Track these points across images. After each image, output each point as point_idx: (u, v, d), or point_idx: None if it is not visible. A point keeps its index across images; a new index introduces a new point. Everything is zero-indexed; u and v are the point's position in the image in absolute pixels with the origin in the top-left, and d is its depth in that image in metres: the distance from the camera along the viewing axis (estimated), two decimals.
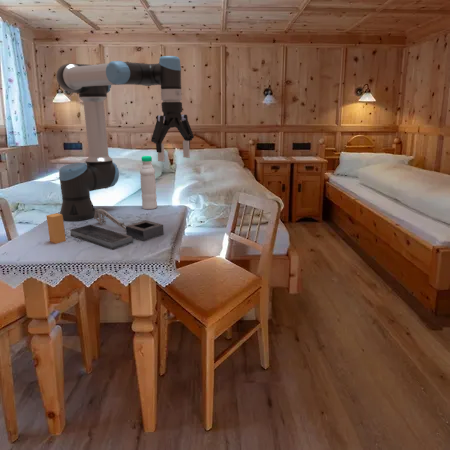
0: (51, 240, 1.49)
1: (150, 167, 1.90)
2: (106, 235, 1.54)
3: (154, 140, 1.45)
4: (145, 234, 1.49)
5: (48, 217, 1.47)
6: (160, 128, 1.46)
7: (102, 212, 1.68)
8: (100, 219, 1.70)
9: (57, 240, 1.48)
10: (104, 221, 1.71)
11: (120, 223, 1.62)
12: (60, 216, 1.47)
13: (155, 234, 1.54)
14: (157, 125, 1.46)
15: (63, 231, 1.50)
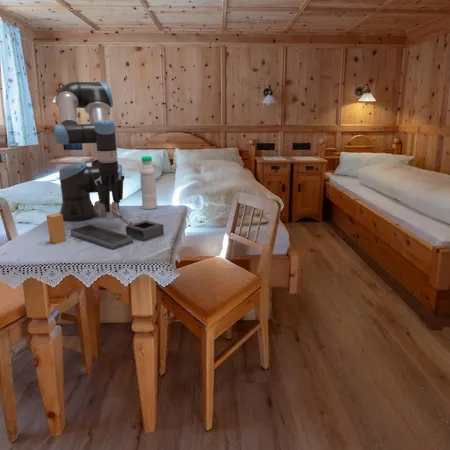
0: (51, 240, 1.49)
1: (150, 167, 1.90)
2: (106, 235, 1.54)
3: (102, 203, 1.60)
4: (145, 234, 1.49)
5: (48, 217, 1.47)
6: (102, 191, 1.58)
7: (101, 204, 1.68)
8: (99, 211, 1.69)
9: (57, 240, 1.48)
10: (104, 213, 1.70)
11: (119, 215, 1.61)
12: (60, 216, 1.47)
13: (155, 234, 1.54)
14: (98, 189, 1.58)
15: (63, 231, 1.50)
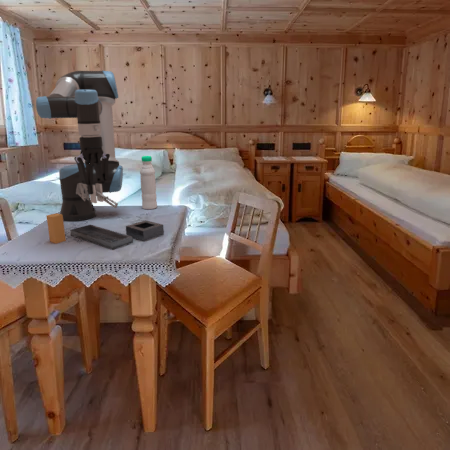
0: (51, 240, 1.49)
1: (150, 167, 1.90)
2: (106, 235, 1.54)
3: (84, 183, 1.42)
4: (145, 234, 1.49)
5: (48, 217, 1.47)
6: (84, 170, 1.40)
7: (84, 186, 1.50)
8: (83, 194, 1.52)
9: (57, 240, 1.48)
10: (87, 196, 1.53)
11: (104, 197, 1.44)
12: (60, 216, 1.47)
13: (155, 234, 1.54)
14: (80, 168, 1.40)
15: (63, 231, 1.50)
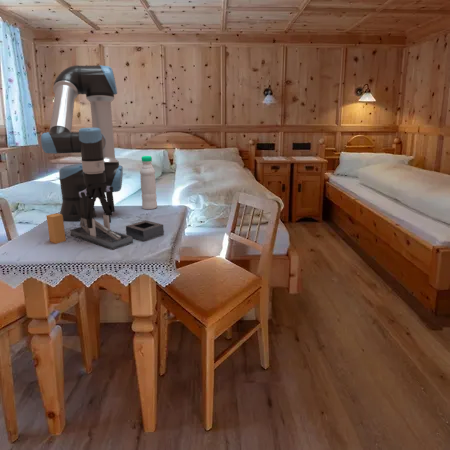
0: (51, 240, 1.49)
1: (150, 167, 1.90)
2: (106, 235, 1.54)
3: (84, 218, 1.44)
4: (145, 234, 1.49)
5: (48, 217, 1.47)
6: (85, 204, 1.43)
7: None
8: (86, 227, 1.55)
9: (57, 240, 1.48)
10: None
11: (107, 230, 1.47)
12: (60, 216, 1.47)
13: (155, 234, 1.54)
14: (82, 202, 1.43)
15: (63, 231, 1.50)
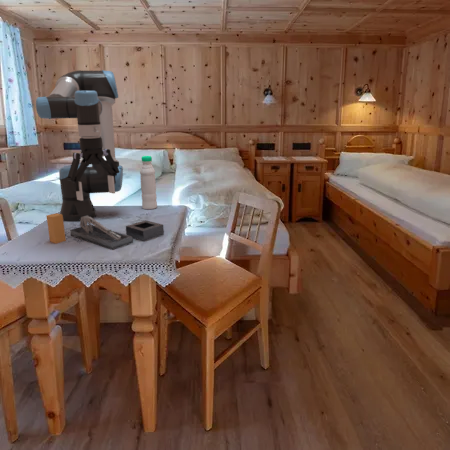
0: (51, 240, 1.49)
1: (150, 167, 1.90)
2: (106, 235, 1.54)
3: (70, 179, 1.38)
4: (145, 234, 1.49)
5: (48, 217, 1.47)
6: (76, 166, 1.38)
7: (88, 219, 1.54)
8: (86, 227, 1.55)
9: (57, 240, 1.48)
10: (91, 229, 1.56)
11: (107, 230, 1.47)
12: (60, 216, 1.47)
13: (155, 234, 1.54)
14: (73, 163, 1.38)
15: (63, 231, 1.50)
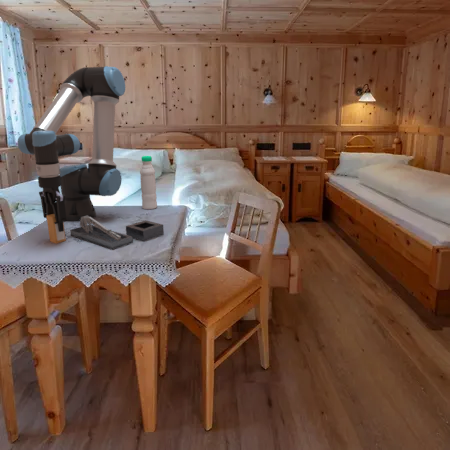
0: (51, 240, 1.49)
1: (150, 167, 1.90)
2: (106, 235, 1.54)
3: None
4: (145, 234, 1.49)
5: (48, 217, 1.47)
6: (42, 204, 1.49)
7: (88, 219, 1.54)
8: (86, 227, 1.55)
9: None
10: (91, 229, 1.56)
11: (107, 230, 1.47)
12: None
13: (155, 234, 1.54)
14: None
15: None
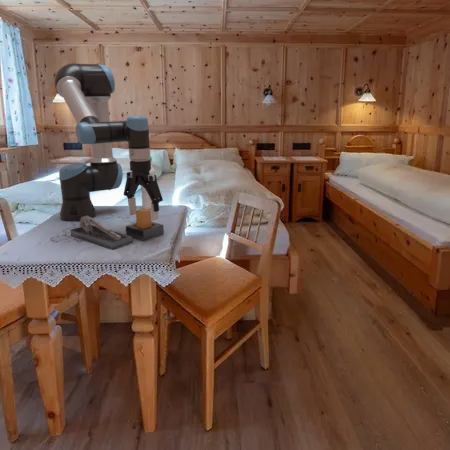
0: None
1: None
2: (106, 235, 1.54)
3: None
4: (145, 234, 1.49)
5: (138, 212, 1.52)
6: (126, 184, 1.54)
7: (88, 219, 1.54)
8: (86, 227, 1.55)
9: None
10: (91, 229, 1.56)
11: (107, 230, 1.47)
12: (148, 211, 1.53)
13: (155, 234, 1.54)
14: None
15: (150, 226, 1.55)
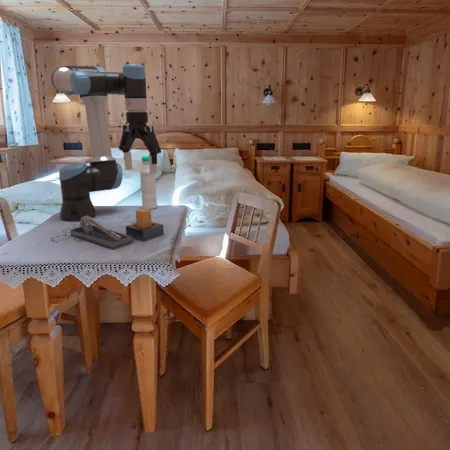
0: None
1: None
2: (106, 235, 1.54)
3: None
4: (145, 234, 1.49)
5: (137, 212, 1.52)
6: (122, 137, 1.49)
7: (88, 219, 1.54)
8: (86, 227, 1.55)
9: None
10: (91, 229, 1.56)
11: (107, 230, 1.47)
12: (148, 211, 1.53)
13: (155, 234, 1.54)
14: None
15: (150, 226, 1.55)
